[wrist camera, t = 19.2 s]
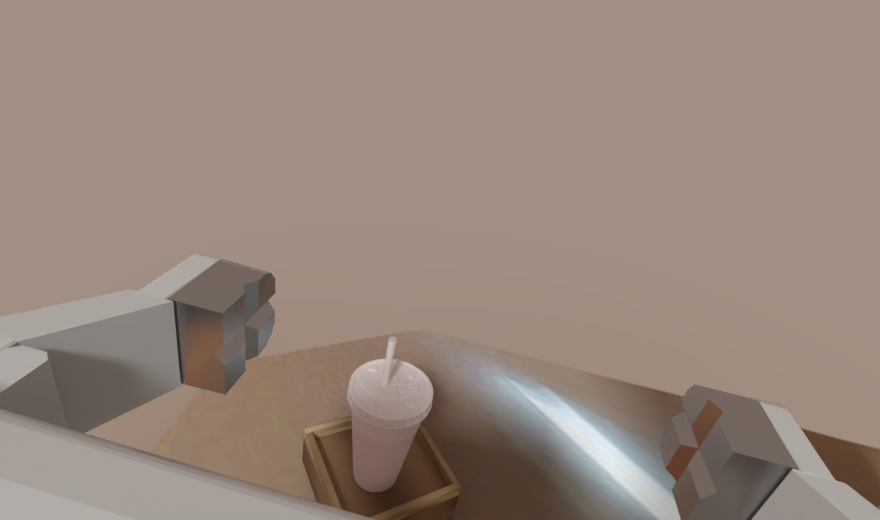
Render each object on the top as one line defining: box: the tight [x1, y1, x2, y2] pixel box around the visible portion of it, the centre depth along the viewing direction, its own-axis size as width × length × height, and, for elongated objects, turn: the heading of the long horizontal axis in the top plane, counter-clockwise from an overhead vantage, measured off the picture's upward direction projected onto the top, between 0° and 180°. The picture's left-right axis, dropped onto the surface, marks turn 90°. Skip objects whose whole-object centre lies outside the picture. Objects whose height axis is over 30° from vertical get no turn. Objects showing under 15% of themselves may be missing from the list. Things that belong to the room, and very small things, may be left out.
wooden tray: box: [302, 416, 461, 520], centre depth 40 cm, size 10×10×4 cm
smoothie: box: [347, 337, 433, 492], centre depth 36 cm, size 6×6×14 cm
